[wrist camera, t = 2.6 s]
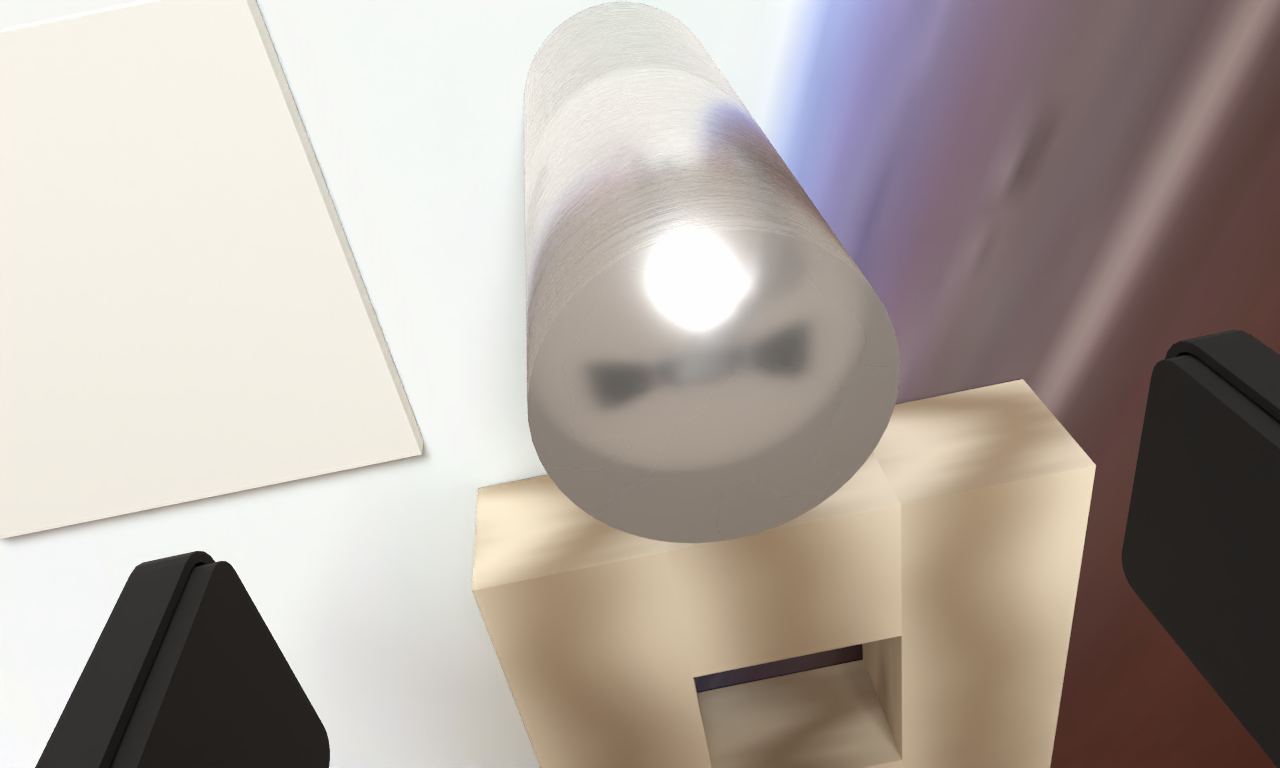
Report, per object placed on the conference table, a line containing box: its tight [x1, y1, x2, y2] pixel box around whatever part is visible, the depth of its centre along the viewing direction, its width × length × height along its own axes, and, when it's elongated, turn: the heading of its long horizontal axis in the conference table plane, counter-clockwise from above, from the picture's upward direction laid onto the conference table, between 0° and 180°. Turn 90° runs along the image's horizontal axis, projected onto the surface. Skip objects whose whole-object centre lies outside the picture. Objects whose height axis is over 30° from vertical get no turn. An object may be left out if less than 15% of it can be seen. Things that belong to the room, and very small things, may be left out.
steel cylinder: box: [524, 2, 900, 543], centre depth 16 cm, size 4×4×12 cm
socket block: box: [472, 379, 1096, 768], centre depth 29 cm, size 16×16×4 cm
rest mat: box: [0, 0, 424, 539], centre depth 21 cm, size 12×12×1 cm
